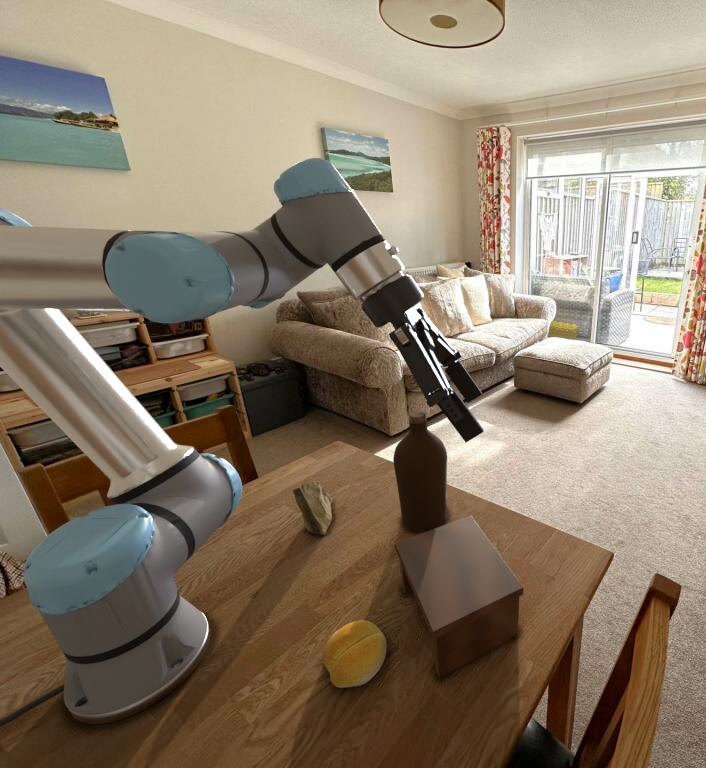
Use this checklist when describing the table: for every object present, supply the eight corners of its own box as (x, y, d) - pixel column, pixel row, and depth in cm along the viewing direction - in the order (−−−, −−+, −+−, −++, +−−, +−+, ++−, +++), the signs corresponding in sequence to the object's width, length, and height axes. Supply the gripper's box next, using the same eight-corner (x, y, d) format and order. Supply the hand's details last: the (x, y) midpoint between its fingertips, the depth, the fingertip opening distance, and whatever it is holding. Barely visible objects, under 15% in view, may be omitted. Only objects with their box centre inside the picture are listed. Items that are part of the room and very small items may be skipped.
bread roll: (340, 704, 53) (335, 685, 52) (318, 653, 59) (314, 634, 58) (398, 664, 58) (395, 645, 57) (373, 620, 65) (370, 602, 63)
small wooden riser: (436, 682, 56) (433, 631, 52) (399, 587, 70) (394, 543, 67) (521, 634, 63) (523, 587, 59) (471, 557, 77) (471, 515, 73)
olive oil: (410, 542, 80) (400, 431, 71) (392, 512, 88) (381, 409, 79) (458, 522, 86) (454, 417, 77) (437, 496, 94) (431, 398, 85)
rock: (314, 487, 92) (277, 509, 83) (331, 464, 89) (295, 484, 80) (346, 521, 92) (313, 547, 82) (365, 499, 88) (332, 523, 79)
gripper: (386, 279, 39) (502, 441, 46) (420, 266, 63) (493, 375, 69) (324, 320, 40) (447, 474, 47) (380, 292, 63) (457, 397, 70)
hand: (475, 415), depth 58 cm, fingers open, 13 cm apart
